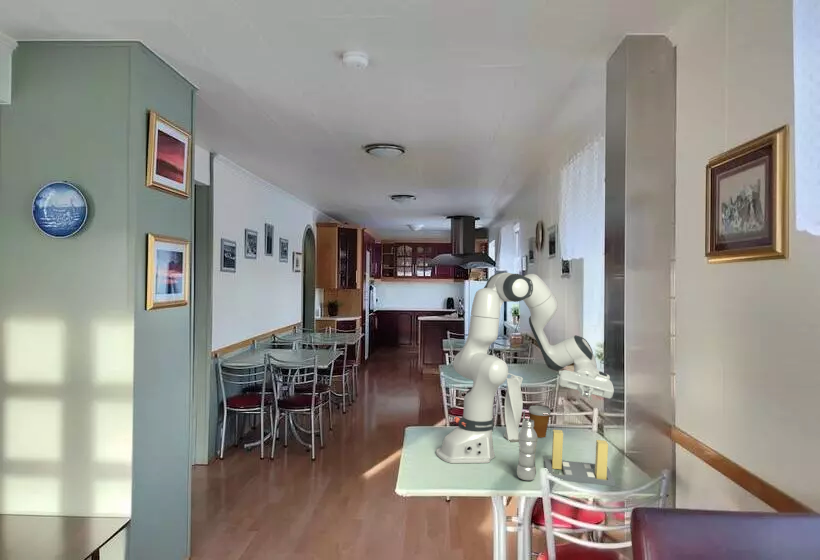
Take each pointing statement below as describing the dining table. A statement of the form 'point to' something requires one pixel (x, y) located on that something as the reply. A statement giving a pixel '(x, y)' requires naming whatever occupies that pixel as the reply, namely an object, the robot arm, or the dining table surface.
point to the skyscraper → (513, 408)
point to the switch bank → (579, 472)
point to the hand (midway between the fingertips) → (585, 395)
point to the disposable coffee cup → (539, 419)
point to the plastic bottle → (527, 451)
